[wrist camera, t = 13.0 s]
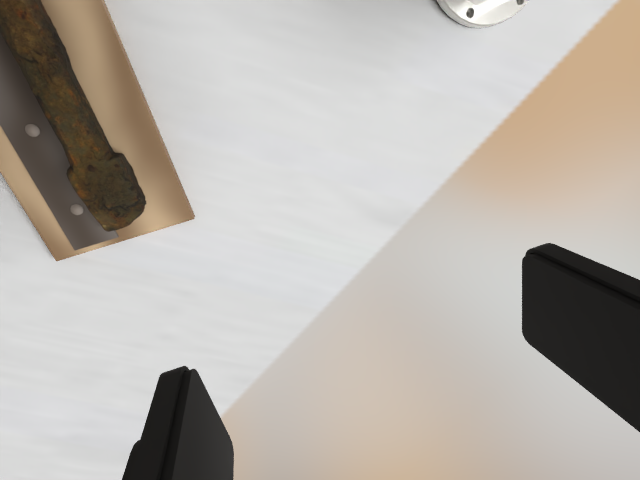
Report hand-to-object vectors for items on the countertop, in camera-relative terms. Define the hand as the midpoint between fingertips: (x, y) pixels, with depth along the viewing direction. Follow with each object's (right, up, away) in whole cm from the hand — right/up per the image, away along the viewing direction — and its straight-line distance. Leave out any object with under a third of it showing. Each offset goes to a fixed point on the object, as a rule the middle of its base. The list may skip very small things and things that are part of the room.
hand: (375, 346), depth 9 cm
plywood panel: (-23, +13, +20) cm, 33 cm away
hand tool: (-23, +12, +18) cm, 32 cm away
